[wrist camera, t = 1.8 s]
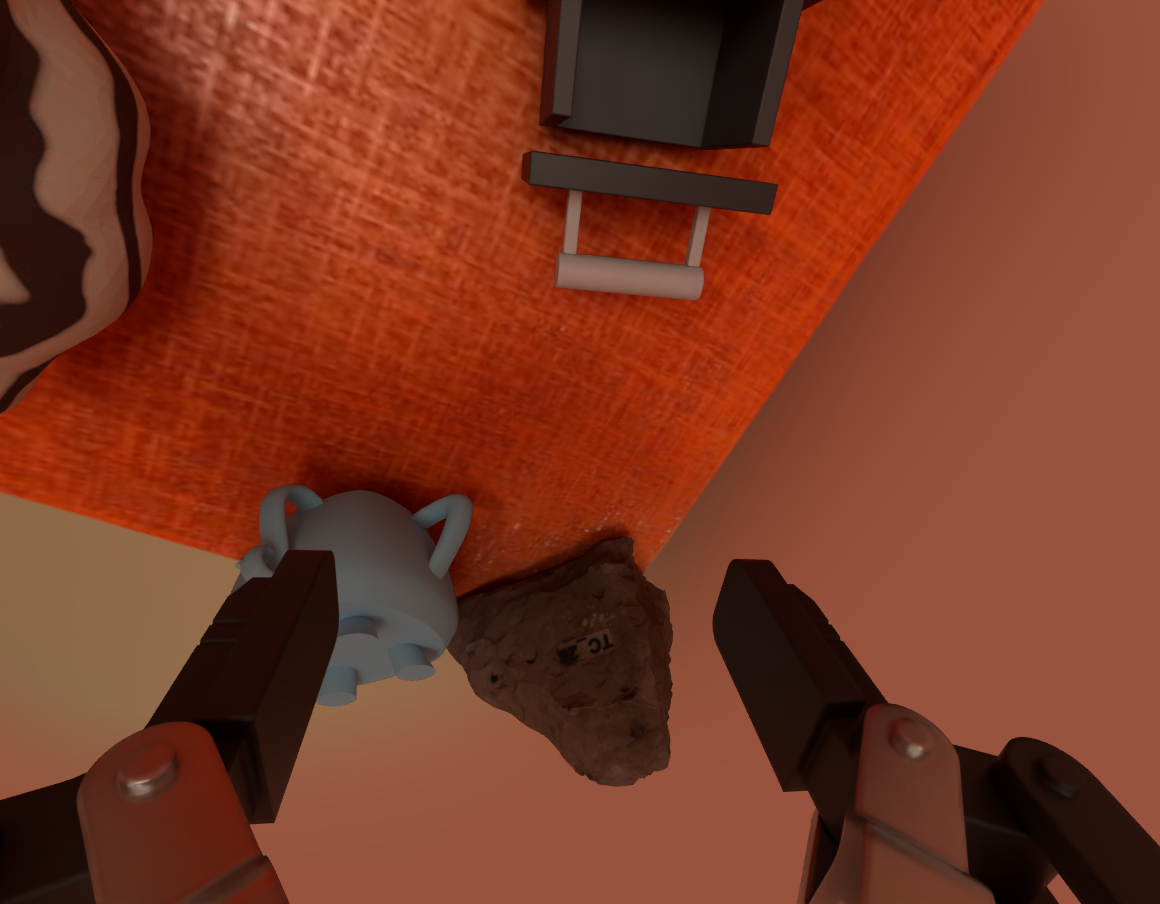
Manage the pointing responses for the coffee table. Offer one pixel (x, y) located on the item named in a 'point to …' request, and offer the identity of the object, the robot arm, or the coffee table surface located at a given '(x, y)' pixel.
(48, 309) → the sculpture
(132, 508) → the coffee table surface
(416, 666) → the teapot
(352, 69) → the coffee table surface
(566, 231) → the drawer
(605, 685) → the stone
